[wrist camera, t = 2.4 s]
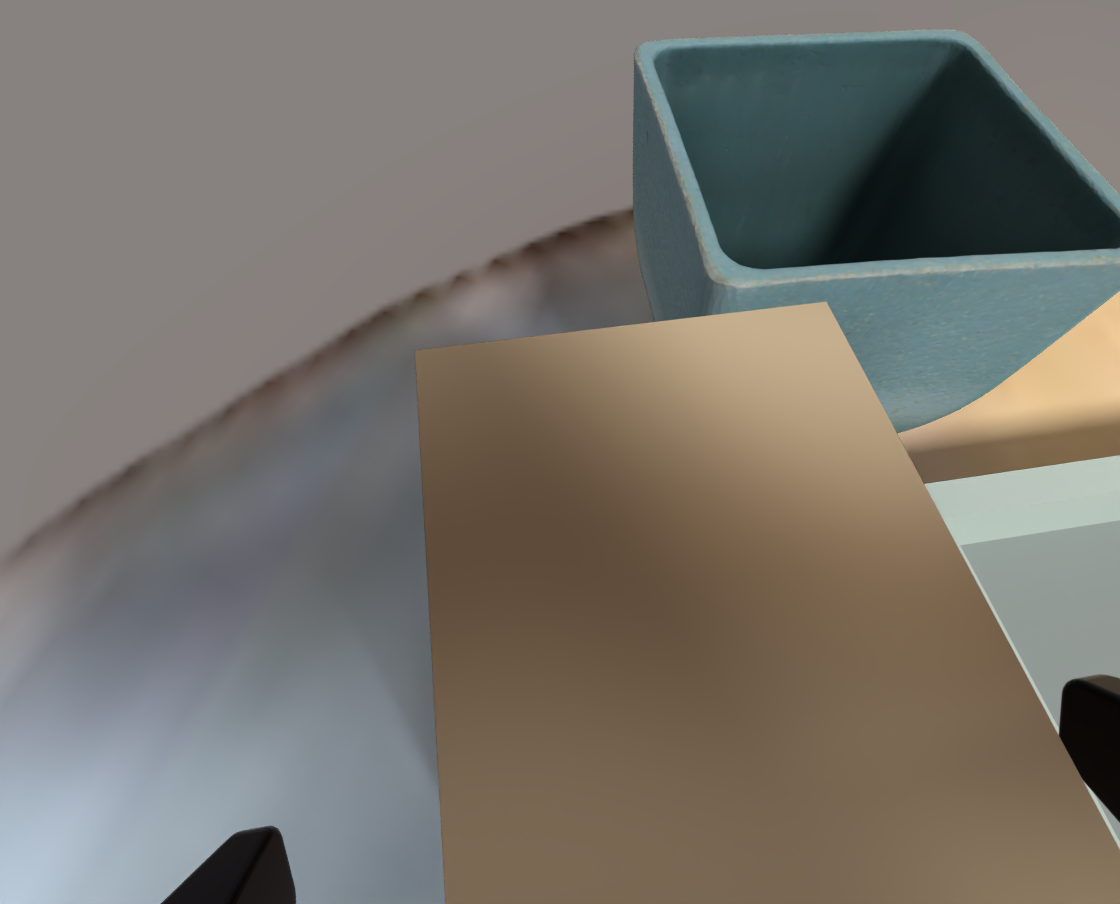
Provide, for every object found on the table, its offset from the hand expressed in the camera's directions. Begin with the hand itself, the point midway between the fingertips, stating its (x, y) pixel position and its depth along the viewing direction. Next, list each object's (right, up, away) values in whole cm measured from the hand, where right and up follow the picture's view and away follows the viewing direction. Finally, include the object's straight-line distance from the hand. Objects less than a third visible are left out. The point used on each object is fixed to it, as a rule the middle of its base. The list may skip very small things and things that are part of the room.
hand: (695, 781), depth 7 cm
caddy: (0, -4, +8) cm, 9 cm away
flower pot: (+5, +6, +14) cm, 16 cm away
